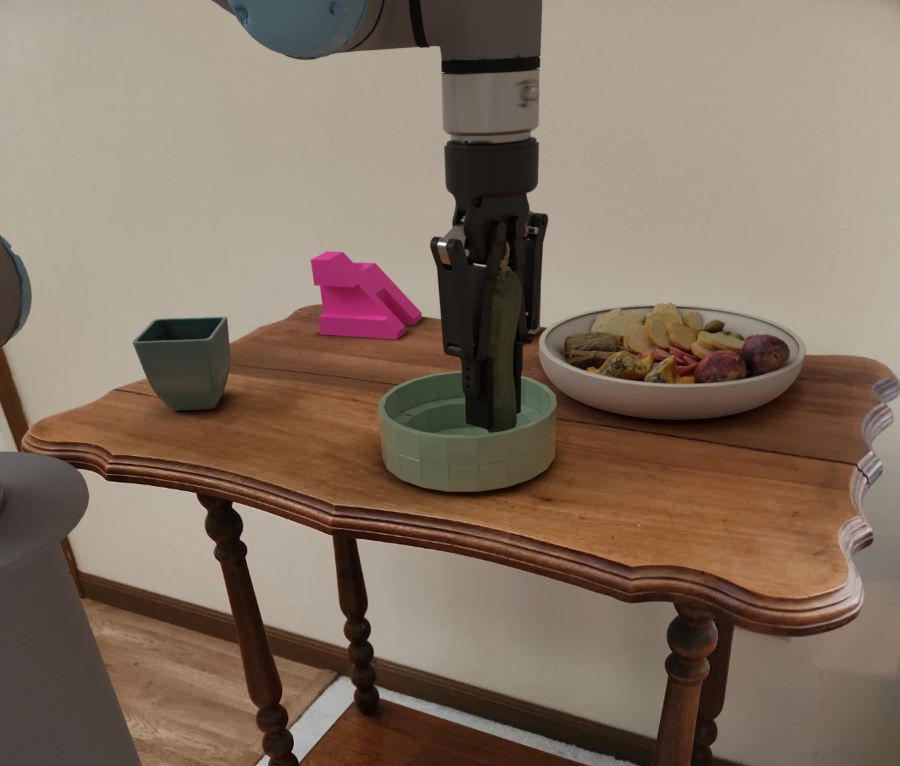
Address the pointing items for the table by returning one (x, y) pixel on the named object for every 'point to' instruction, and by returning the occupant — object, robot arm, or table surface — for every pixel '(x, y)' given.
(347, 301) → the bracket
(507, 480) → the mixing bowl
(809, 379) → the table surface
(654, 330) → the bowl
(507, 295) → the vegetable
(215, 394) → the flower pot
